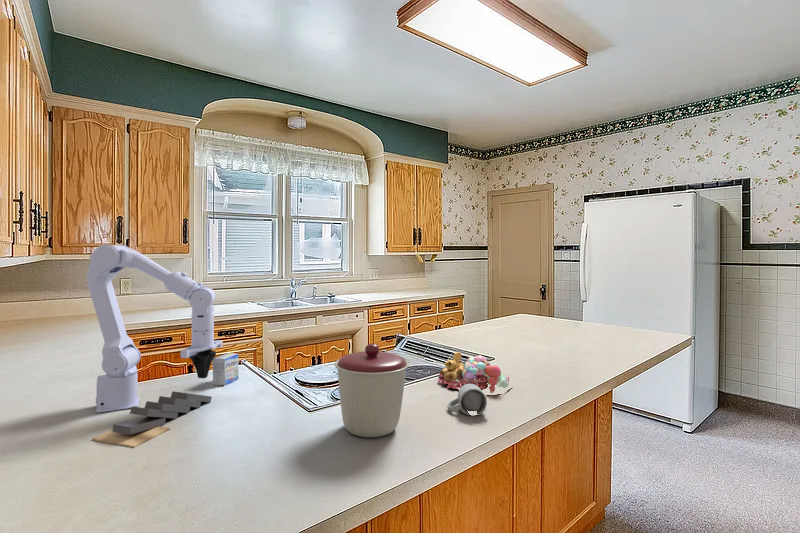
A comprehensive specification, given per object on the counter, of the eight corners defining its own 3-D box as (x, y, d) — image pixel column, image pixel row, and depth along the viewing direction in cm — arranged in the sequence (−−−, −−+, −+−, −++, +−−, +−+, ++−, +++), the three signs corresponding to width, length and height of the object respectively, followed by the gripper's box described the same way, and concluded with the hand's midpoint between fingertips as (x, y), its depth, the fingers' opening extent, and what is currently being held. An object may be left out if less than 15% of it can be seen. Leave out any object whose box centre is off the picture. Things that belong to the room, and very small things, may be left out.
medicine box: (224, 386, 137) (224, 359, 137) (212, 385, 138) (212, 358, 138) (238, 379, 145) (239, 353, 144) (226, 378, 146) (227, 352, 145)
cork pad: (134, 447, 94) (134, 446, 94) (91, 440, 97) (91, 438, 97) (170, 429, 104) (170, 428, 104) (130, 423, 107) (130, 422, 107)
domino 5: (210, 402, 122) (186, 399, 113) (195, 400, 124) (170, 397, 115) (211, 396, 123) (188, 393, 114) (197, 394, 124) (172, 391, 115)
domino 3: (188, 413, 114) (161, 410, 105) (172, 410, 115) (144, 407, 106) (190, 406, 115) (163, 403, 106) (174, 404, 116) (146, 401, 107)
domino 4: (199, 407, 118) (174, 404, 109) (184, 405, 120) (157, 402, 110) (201, 401, 119) (175, 398, 110) (185, 399, 120) (159, 396, 111)
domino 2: (176, 418, 110) (146, 416, 101) (160, 416, 112) (129, 413, 103) (178, 412, 111) (148, 408, 102) (162, 409, 112) (131, 406, 103)
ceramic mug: (481, 406, 124) (481, 380, 124) (487, 416, 116) (487, 389, 116) (445, 406, 124) (445, 380, 123) (449, 416, 116) (449, 389, 116)
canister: (380, 453, 94) (381, 356, 93) (318, 433, 103) (319, 345, 103) (420, 425, 109) (422, 342, 108) (363, 410, 119) (364, 333, 118)
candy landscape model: (428, 388, 140) (429, 360, 139) (448, 370, 161) (448, 345, 161) (507, 400, 130) (508, 369, 130) (516, 379, 152) (517, 353, 152)
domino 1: (164, 424, 107) (130, 434, 97) (148, 421, 108) (112, 431, 98) (165, 417, 107) (130, 427, 97) (149, 415, 108) (113, 424, 99)
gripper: (196, 335, 114) (196, 386, 115) (231, 326, 128) (231, 372, 129) (174, 333, 116) (174, 383, 117) (211, 325, 130) (211, 369, 130)
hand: (202, 377), depth 123 cm, fingers closed
